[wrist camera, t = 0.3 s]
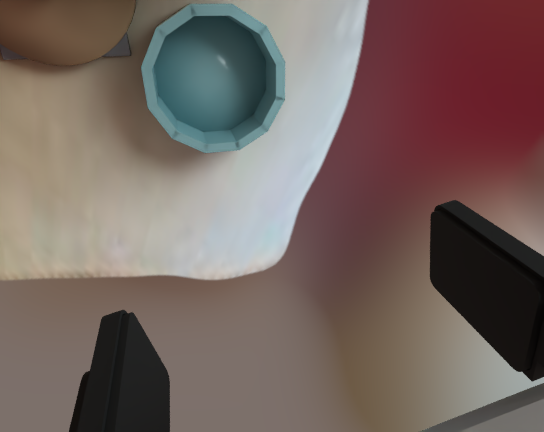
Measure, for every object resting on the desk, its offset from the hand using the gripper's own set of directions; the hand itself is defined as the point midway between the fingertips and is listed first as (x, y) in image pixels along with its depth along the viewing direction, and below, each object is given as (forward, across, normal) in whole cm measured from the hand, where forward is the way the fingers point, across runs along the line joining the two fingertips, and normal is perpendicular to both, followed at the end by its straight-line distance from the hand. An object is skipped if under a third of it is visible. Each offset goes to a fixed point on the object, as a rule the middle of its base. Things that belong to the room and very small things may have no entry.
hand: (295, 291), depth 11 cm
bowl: (+30, -1, -2) cm, 30 cm away
